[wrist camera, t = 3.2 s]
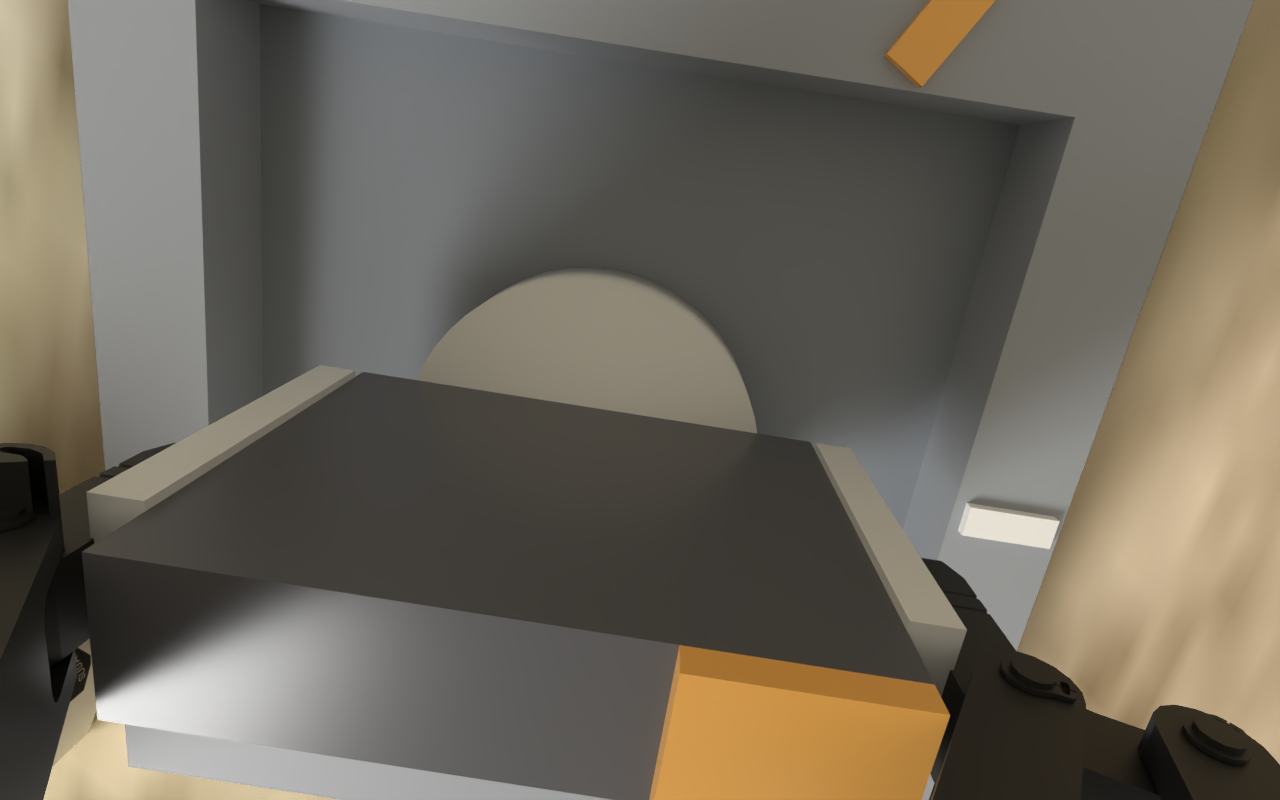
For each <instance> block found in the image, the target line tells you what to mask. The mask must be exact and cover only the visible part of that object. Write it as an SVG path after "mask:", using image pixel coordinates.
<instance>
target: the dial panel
mask: <svg viewBox="0 0 1280 800" xmlns="http://www.w3.org/2000/svg"><path fill="white" fill-rule="evenodd" d="M1253 2H1254V0H68V9H69V22H70V35H71V47H72V60H73V72H74V85H75V98H76V110H77V123H78V136H79V148H80V161H81V173H82V186H83V199H84V211H85V224H86V237H87V249H88V262H89V274H90V287H91V300H92V312H93V325H94V338H95V350H96V363H97V375H98V388H99V401H100V413H101V426H102V439H103V451H104V464H105V471H106V470H108V469H110V468H112V467H114V466H117V467H118V466H119V464H120V463H121V462H123V461H125V460H127V459H129V458H131V457H133V456H135V455H137V454H139V453H140V452H142V451H146V450H150V449H153V448H157V447H160V446H164V445H168V444H171V443H178V442H179V441H181V440H183V439H185V438H187V437H189V436H190V435H192V434H194V433H196V432H198V431H200V430H201V429H203V428H205V427H207V426H209V425H211V424H212V423H214V422H216V421H218V420H220V419H222V418H224V417H225V416H227V415H229V414H231V413H233V412H235V411H236V410H238V409H240V408H242V407H244V406H246V405H247V404H249V403H251V402H253V401H255V400H257V399H258V398H260V397H262V396H264V395H266V394H268V393H270V392H271V391H273V390H275V389H277V388H279V387H281V386H282V385H284V384H286V383H288V382H290V381H292V380H293V379H295V378H297V377H299V376H301V375H303V374H304V373H306V372H308V371H310V370H312V369H314V368H316V367H317V366H319V365H324V366H330V367H337V368H343V369H349V370H355V377H356V376H357V375H359V374H360V373H362V372H368V373H374V374H381V375H387V376H393V377H400V378H406V379H413V380H417V378H418V376H419V373H420V371H421V369H422V367H423V365H424V363H425V362H426V360H427V358H428V357H429V355H430V354H431V352H432V350H433V349H434V347H435V346H436V345H437V344H438V343H439V341H440V340H441V339H442V338H443V337H444V335H445V334H446V333H447V332H448V331H449V330H450V329H451V328H452V327H453V326H454V325H455V324H456V323H458V322H459V321H460V320H461V319H462V318H463V317H464V316H465V315H467V314H468V313H470V312H471V311H473V310H474V309H475V308H477V307H478V306H480V305H481V304H483V303H484V302H486V301H487V300H489V299H490V298H492V297H493V296H495V295H496V294H498V293H499V292H501V291H502V290H504V289H505V288H507V287H509V286H511V285H513V284H515V283H517V282H519V281H521V280H523V279H526V278H529V277H532V276H535V275H538V274H541V273H544V272H548V271H554V270H560V269H565V268H582V267H593V268H604V269H613V270H618V271H622V272H626V273H631V274H635V275H637V276H640V277H643V278H645V279H648V280H651V281H654V282H656V283H658V284H659V285H661V286H663V287H665V288H667V289H669V290H671V291H673V292H674V293H676V294H677V295H679V296H680V297H681V298H683V299H684V300H686V301H687V302H689V303H690V304H691V305H693V306H694V307H695V308H696V309H697V310H698V311H699V312H700V313H701V314H702V315H703V316H704V317H705V318H707V319H708V321H709V322H710V323H711V324H712V325H713V327H714V328H715V329H716V330H717V332H718V333H719V334H720V335H721V337H722V338H723V340H724V341H725V343H726V345H727V346H728V348H729V349H730V351H731V353H732V354H733V357H734V359H735V361H736V363H737V366H738V368H739V370H740V372H741V375H742V378H743V381H744V384H745V387H746V390H747V393H748V396H749V399H750V403H751V406H752V410H753V413H754V417H755V422H756V429H757V434H764V435H770V436H777V437H783V438H789V439H796V440H802V441H808V442H811V444H812V446H813V448H815V444H816V443H820V444H826V445H832V446H839V447H845V448H850V449H851V450H852V452H853V453H854V455H855V456H856V458H857V459H858V461H859V463H860V464H861V466H862V467H863V469H864V470H865V472H866V473H867V475H868V477H869V478H870V480H871V481H872V483H873V484H874V486H875V487H876V489H877V491H878V492H879V494H880V495H881V497H882V498H883V500H884V501H885V503H886V505H887V506H888V508H889V509H890V511H891V512H892V514H893V515H894V517H895V519H896V520H897V522H898V523H899V525H900V526H901V528H902V529H903V531H904V533H905V534H906V536H907V537H908V539H909V540H910V542H911V543H912V545H913V547H914V548H915V550H916V551H917V553H918V554H919V556H920V557H921V558H926V559H932V560H939V561H942V562H944V563H945V564H946V565H948V566H949V567H950V568H952V569H953V570H954V571H955V572H957V573H958V574H959V575H961V576H962V577H963V578H964V579H965V580H966V581H967V583H968V584H969V586H970V587H971V588H972V590H973V591H974V593H975V594H976V595H977V599H979V600H980V601H981V602H982V604H983V605H984V607H985V608H986V609H987V614H990V615H991V616H992V618H993V619H994V620H995V622H996V623H997V625H998V626H999V627H1000V629H1001V630H1002V632H1003V633H1004V634H1005V636H1006V637H1007V639H1008V640H1009V641H1010V643H1011V644H1012V646H1013V647H1014V648H1015V650H1016V651H1017V649H1018V647H1019V644H1020V641H1021V638H1022V636H1023V633H1024V630H1025V627H1026V625H1027V622H1028V619H1029V617H1030V614H1031V611H1032V608H1033V606H1034V603H1035V600H1036V597H1037V595H1038V592H1039V589H1040V586H1041V584H1042V581H1043V578H1044V575H1045V573H1046V570H1047V567H1048V564H1049V562H1050V559H1051V556H1052V553H1053V551H1054V548H1055V545H1056V542H1057V540H1058V537H1059V534H1060V531H1061V529H1062V526H1063V523H1064V520H1065V518H1066V515H1067V512H1068V509H1069V507H1070V504H1071V501H1072V498H1073V496H1074V493H1075V490H1076V488H1077V485H1078V482H1079V479H1080V477H1081V474H1082V471H1083V468H1084V466H1085V463H1086V460H1087V457H1088V455H1089V452H1090V449H1091V446H1092V444H1093V441H1094V438H1095V435H1096V433H1097V430H1098V427H1099V424H1100V422H1101V419H1102V416H1103V413H1104V411H1105V408H1106V405H1107V402H1108V400H1109V397H1110V394H1111V391H1112V389H1113V386H1114V383H1115V380H1116V378H1117V375H1118V372H1119V369H1120V367H1121V364H1122V361H1123V359H1124V356H1125V353H1126V350H1127V348H1128V345H1129V342H1130V339H1131V337H1132V334H1133V331H1134V328H1135V326H1136V323H1137V320H1138V317H1139V315H1140V312H1141V309H1142V306H1143V304H1144V301H1145V298H1146V295H1147V293H1148V290H1149V287H1150V284H1151V282H1152V279H1153V276H1154V273H1155V271H1156V268H1157V265H1158V262H1159V260H1160V257H1161V254H1162V251H1163V249H1164V246H1165V243H1166V240H1167V238H1168V235H1169V232H1170V230H1171V227H1172V224H1173V221H1174V219H1175V216H1176V213H1177V210H1178V208H1179V205H1180V202H1181V199H1182V197H1183V194H1184V191H1185V188H1186V186H1187V183H1188V180H1189V177H1190V175H1191V172H1192V169H1193V166H1194V164H1195V161H1196V158H1197V155H1198V153H1199V150H1200V147H1201V144H1202V142H1203V139H1204V136H1205V133H1206V131H1207V128H1208V125H1209V122H1210V120H1211V117H1212V114H1213V112H1214V109H1215V106H1216V103H1217V101H1218V98H1219V95H1220V92H1221V90H1222V87H1223V84H1224V81H1225V79H1226V76H1227V73H1228V70H1229V68H1230V65H1231V62H1232V59H1233V57H1234V54H1235V51H1236V48H1237V46H1238V43H1239V40H1240V37H1241V35H1242V32H1243V29H1244V26H1245V24H1246V21H1247V18H1248V15H1249V13H1250V10H1251V7H1252V4H1253ZM125 729H126V742H127V754H128V767H134V768H140V769H147V770H153V771H160V772H166V773H173V774H179V775H185V776H192V777H198V778H205V779H211V780H218V781H224V782H231V783H237V784H244V785H250V786H256V787H263V788H269V789H276V790H282V791H289V792H295V793H302V794H308V795H314V796H321V797H327V798H334V799H340V800H611V799H605V798H598V797H592V796H585V795H579V794H573V793H566V792H560V791H553V790H547V789H540V788H534V787H527V786H521V785H514V784H508V783H501V782H495V781H489V780H482V779H476V778H469V777H463V776H456V775H450V774H443V773H437V772H430V771H424V770H417V769H411V768H405V767H398V766H392V765H385V764H379V763H372V762H366V761H359V760H353V759H346V758H340V757H333V756H327V755H321V754H314V753H308V752H301V751H295V750H288V749H282V748H275V747H269V746H262V745H256V744H249V743H243V742H237V741H230V740H224V739H217V738H211V737H204V736H198V735H191V734H185V733H178V732H172V731H165V730H159V729H153V728H146V727H140V726H133V725H127V724H125ZM933 786H934V781H933V779H932V777H931V774H930V776H929V779H928V782H927V785H926V788H925V791H924V794H923V797H922V800H929V798H930V795H931V792H932V789H933Z"/></svg>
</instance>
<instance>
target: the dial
mask: <svg viewBox="0 0 1280 800" xmlns="http://www.w3.org/2000/svg"><path fill="white" fill-rule="evenodd" d="M82 561H83V572H84V582H85V593H86V604H87V614H88V625H89V636H90V646H91V657H92V667H93V678H94V689H95V699H96V710H97V720H101V721H107V722H114V723H120V724H127V725H133V726H140V727H146V728H153V729H159V730H165V731H172V732H178V733H185V734H191V735H198V736H204V737H211V738H217V739H224V740H230V741H237V742H243V743H249V744H256V745H262V746H269V747H275V748H282V749H288V750H295V751H301V752H308V753H314V754H321V755H327V756H333V757H340V758H346V759H353V760H359V761H366V762H372V763H379V764H385V765H392V766H398V767H405V768H411V769H417V770H424V771H430V772H437V773H443V774H450V775H456V776H463V777H469V778H476V779H482V780H489V781H495V782H501V783H508V784H514V785H521V786H527V787H534V788H540V789H547V790H553V791H560V792H566V793H573V794H579V795H585V796H592V797H598V798H605V799H611V800H922V797H923V794H924V791H925V788H926V785H927V782H928V779H929V776H930V773H931V771H932V768H933V765H934V762H935V759H936V756H937V753H938V750H939V747H940V744H941V741H942V738H943V735H944V732H945V730H946V727H947V724H948V721H949V718H950V714H949V712H948V710H947V708H946V706H945V704H944V702H943V700H942V698H941V696H940V694H939V692H938V690H937V688H936V686H935V684H934V682H933V680H932V678H931V677H930V675H929V673H928V671H927V669H926V667H925V665H924V663H923V661H922V659H921V657H920V655H919V653H918V651H917V649H916V647H915V645H914V643H913V641H912V639H911V637H910V635H909V634H908V632H907V630H906V628H905V626H904V624H903V622H902V620H901V618H900V616H899V615H898V613H897V611H896V609H895V607H894V605H893V603H892V601H891V599H890V597H889V595H888V593H887V591H886V589H885V587H884V585H883V583H882V581H881V579H880V577H879V575H878V573H877V571H876V569H875V567H874V565H873V564H872V562H871V560H870V558H869V556H868V554H867V552H866V550H865V548H864V546H863V544H862V542H861V540H860V538H859V536H858V534H857V532H856V530H855V528H854V526H853V524H852V522H851V520H850V518H849V516H848V515H847V513H846V511H845V509H844V507H843V505H842V503H841V501H840V499H839V497H838V495H837V493H836V491H835V489H834V487H833V485H832V483H831V481H830V479H829V477H828V475H827V473H826V471H825V469H824V467H823V465H822V464H821V462H820V460H819V458H818V456H817V454H816V452H815V450H814V448H813V446H812V444H811V442H808V441H802V440H796V439H789V438H783V437H777V436H770V435H764V434H757V429H756V422H755V417H754V413H753V410H752V406H751V403H750V399H749V396H748V393H747V390H746V387H745V384H744V381H743V378H742V375H741V372H740V370H739V368H738V366H737V363H736V361H735V359H734V357H733V354H732V353H731V351H730V349H729V348H728V346H727V345H726V343H725V341H724V340H723V338H722V337H721V335H720V334H719V333H718V332H717V330H716V329H715V328H714V327H713V325H712V324H711V323H710V322H709V321H708V319H707V318H705V317H704V316H703V315H702V314H701V313H700V312H699V311H698V310H697V309H696V308H695V307H694V306H693V305H691V304H690V303H689V302H687V301H686V300H684V299H683V298H681V297H680V296H679V295H677V294H676V293H674V292H673V291H671V290H669V289H667V288H665V287H663V286H661V285H659V284H658V283H656V282H654V281H651V280H648V279H645V278H643V277H640V276H637V275H635V274H631V273H626V272H622V271H618V270H613V269H604V268H593V267H582V268H565V269H560V270H554V271H548V272H544V273H541V274H538V275H535V276H532V277H529V278H526V279H523V280H521V281H519V282H517V283H515V284H513V285H511V286H509V287H507V288H505V289H504V290H502V291H501V292H499V293H498V294H496V295H495V296H493V297H492V298H490V299H489V300H487V301H486V302H484V303H483V304H481V305H480V306H478V307H477V308H475V309H474V310H473V311H471V312H470V313H468V314H467V315H465V316H464V317H463V318H462V319H461V320H460V321H459V322H458V323H456V324H455V325H454V326H453V327H452V328H451V329H450V330H449V331H448V332H447V333H446V334H445V335H444V337H443V338H442V339H441V340H440V341H439V343H438V344H437V345H436V346H435V347H434V349H433V350H432V352H431V354H430V355H429V357H428V358H427V360H426V362H425V363H424V365H423V367H422V369H421V371H420V373H419V376H418V378H417V380H413V379H406V378H400V377H393V376H387V375H381V374H374V373H368V372H362V373H360V374H359V375H357V376H356V377H354V378H353V379H351V380H350V381H348V382H347V383H345V384H343V385H342V386H340V387H339V388H337V389H336V390H334V391H333V392H331V393H329V394H328V395H326V396H325V397H323V398H322V399H320V400H319V401H317V402H315V403H314V404H312V405H311V406H309V407H308V408H306V409H304V410H303V411H301V412H300V413H298V414H297V415H295V416H294V417H292V418H290V419H289V420H287V421H286V422H284V423H283V424H281V425H280V426H278V427H276V428H275V429H273V430H272V431H270V432H269V433H267V434H265V435H264V436H262V437H261V438H259V439H258V440H256V441H255V442H253V443H251V444H250V445H248V446H247V447H245V448H244V449H242V450H241V451H239V452H237V453H236V454H234V455H233V456H231V457H230V458H228V459H227V460H225V461H223V462H222V463H220V464H219V465H217V466H216V467H214V468H212V469H211V470H209V471H208V472H206V473H205V474H203V475H202V476H200V477H198V478H197V479H195V480H194V481H192V482H191V483H189V484H188V485H186V486H184V487H183V488H181V489H180V490H178V491H177V492H175V493H173V494H172V495H170V496H169V497H167V498H166V499H164V500H163V501H161V502H159V503H158V504H156V505H155V506H153V507H152V508H150V509H149V510H147V511H145V512H143V513H142V514H140V515H139V516H137V517H136V518H134V519H132V520H131V521H129V522H128V523H126V524H125V525H123V526H121V527H120V528H118V529H117V530H115V531H114V532H112V533H111V534H109V535H107V536H106V537H104V538H103V539H101V540H100V541H98V542H96V543H95V544H93V545H92V546H90V547H89V548H87V549H86V550H84V551H82Z"/></svg>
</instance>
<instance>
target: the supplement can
mask: <svg viewBox="0 0 1280 800" xmlns="http://www.w3.org/2000/svg"><path fill="white" fill-rule="evenodd" d="M75 656H76V666H77V678H76V682H75V686H74V689H73V693H72V696H71V700H70V704H69V707H68V711H67V715H66V718H65V722H64V726H63V729H62V733H61V736H60V740H59V744H58V747H57V751H56V755H55V758H54V762H53V765H54V764H56V763H57V762H58V761H59V760H60V759H61V758H62V757H63V756H64V755H65V754H66V753H67V752H68V751H69V750H70V749H71V748H72V747H73V746H74V745H75V744H76V743H77V742H79V741H80V740H81V739H82V738H83V737H84V736H85V735H86V734H87V733H88V732H89V731H90V728H91V725H92V722H93V719H94V716H95V713H96V699H95V689H94V678H93V667H92V657H91V646H90V638H89V639H88V640H87V641H86V642H84V643H83V644H82V645H81V646H79V647H78V648H77V649H76V650H75Z"/></svg>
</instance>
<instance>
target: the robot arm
mask: <svg viewBox="0 0 1280 800" xmlns="http://www.w3.org/2000/svg"><path fill="white" fill-rule="evenodd" d="M354 377H355V370H349V369H343V368H337V367H330V366H324V365H319V366H317V367H316V368H314V369H312V370H310V371H308V372H306V373H304V374H303V375H301V376H299V377H297V378H295V379H293V380H292V381H290V382H288V383H286V384H284V385H282V386H281V387H279V388H277V389H275V390H273V391H271V392H270V393H268V394H266V395H264V396H262V397H260V398H258V399H257V400H255V401H253V402H251V403H249V404H247V405H246V406H244V407H242V408H240V409H238V410H236V411H235V412H233V413H231V414H229V415H227V416H225V417H224V418H222V419H220V420H218V421H216V422H214V423H212V424H211V425H209V426H207V427H205V428H203V429H201V430H200V431H198V432H196V433H194V434H192V435H190V436H189V437H187V438H185V439H183V440H181V441H179V442H178V443H171V444H168V445H164V446H160V447H157V448H153V449H150V450H146V451H142V452H140V453H139V454H137V455H135V456H133V457H131V458H129V459H127V460H125V461H123V462H121V463H120V464H119V466H118V467H117V466H114V467H112V468H110V469H108V470H106V471H104V472H102V473H100V476H99V477H96V476H95V477H93V478H91V479H89V480H87V481H85V482H83V483H81V484H79V485H78V486H76V487H74V488H72V489H70V490H68V491H66V492H64V493H62V494H60V495H59V488H58V479H57V469H56V459H55V453H54V452H52V451H51V450H49V449H47V448H45V447H41V446H36V445H31V444H13V443H2V444H0V800H43V798H44V795H45V791H46V787H47V784H48V780H49V776H50V773H51V769H52V766H53V762H54V758H55V755H56V751H57V747H58V744H59V740H60V736H61V733H62V729H63V726H64V722H65V718H66V715H67V711H68V707H69V704H70V700H71V696H72V693H73V689H74V686H75V682H76V678H77V666H76V656H75V650H76V649H77V648H78V647H79V646H81V645H82V644H83V643H84V642H86V641H87V640H88V639H89V638H90V636H89V625H88V614H87V604H86V593H85V582H84V572H83V561H82V551H84V550H86V549H87V548H89V547H90V546H92V545H93V544H95V543H96V542H98V541H100V540H101V539H103V538H104V537H106V536H107V535H109V534H111V533H112V532H114V531H115V530H117V529H118V528H120V527H121V526H123V525H125V524H126V523H128V522H129V521H131V520H132V519H134V518H136V517H137V516H139V515H140V514H142V513H143V512H145V511H147V510H149V509H150V508H152V507H153V506H155V505H156V504H158V503H159V502H161V501H163V500H164V499H166V498H167V497H169V496H170V495H172V494H173V493H175V492H177V491H178V490H180V489H181V488H183V487H184V486H186V485H188V484H189V483H191V482H192V481H194V480H195V479H197V478H198V477H200V476H202V475H203V474H205V473H206V472H208V471H209V470H211V469H212V468H214V467H216V466H217V465H219V464H220V463H222V462H223V461H225V460H227V459H228V458H230V457H231V456H233V455H234V454H236V453H237V452H239V451H241V450H242V449H244V448H245V447H247V446H248V445H250V444H251V443H253V442H255V441H256V440H258V439H259V438H261V437H262V436H264V435H265V434H267V433H269V432H270V431H272V430H273V429H275V428H276V427H278V426H280V425H281V424H283V423H284V422H286V421H287V420H289V419H290V418H292V417H294V416H295V415H297V414H298V413H300V412H301V411H303V410H304V409H306V408H308V407H309V406H311V405H312V404H314V403H315V402H317V401H319V400H320V399H322V398H323V397H325V396H326V395H328V394H329V393H331V392H333V391H334V390H336V389H337V388H339V387H340V386H342V385H343V384H345V383H347V382H348V381H350V380H351V379H353V378H354ZM814 450H815V452H816V454H817V456H818V458H819V460H820V462H821V464H822V465H823V467H824V469H825V471H826V473H827V475H828V477H829V479H830V481H831V483H832V485H833V487H834V489H835V491H836V493H837V495H838V497H839V499H840V501H841V503H842V505H843V507H844V509H845V511H846V513H847V515H848V516H849V518H850V520H851V522H852V524H853V526H854V528H855V530H856V532H857V534H858V536H859V538H860V540H861V542H862V544H863V546H864V548H865V550H866V552H867V554H868V556H869V558H870V560H871V562H872V564H873V565H874V567H875V569H876V571H877V573H878V575H879V577H880V579H881V581H882V583H883V585H884V587H885V589H886V591H887V593H888V595H889V597H890V599H891V601H892V603H893V605H894V607H895V609H896V611H897V613H898V615H899V616H900V618H901V620H902V622H903V624H904V626H905V628H906V630H907V632H908V634H909V635H910V637H911V639H912V641H913V643H914V645H915V647H916V649H917V651H918V653H919V655H920V657H921V659H922V661H923V663H924V665H925V667H926V669H927V671H928V673H929V675H930V677H931V678H932V680H933V682H934V684H935V686H936V688H937V690H938V692H939V694H940V696H941V698H942V700H943V702H944V704H945V706H946V708H947V710H948V712H949V714H950V718H949V721H948V724H947V727H946V730H945V732H944V735H943V738H942V741H941V744H940V747H939V750H938V753H937V756H936V759H935V762H934V765H933V768H932V771H931V773H930V774H931V777H932V779H933V781H934V786H933V789H932V792H931V795H930V798H929V800H1280V765H1279V763H1278V762H1277V761H1276V760H1275V759H1274V758H1273V757H1272V756H1271V755H1270V753H1269V752H1268V751H1267V750H1266V749H1265V748H1264V747H1263V746H1262V745H1260V744H1259V743H1258V742H1256V741H1255V740H1254V739H1252V738H1251V737H1249V736H1248V735H1247V734H1245V732H1244V731H1243V730H1242V729H1240V728H1238V727H1237V726H1235V725H1233V724H1232V723H1230V724H1228V723H1226V722H1227V721H1226V720H1224V719H1222V718H1220V717H1218V716H1215V715H1211V714H1210V715H1209V714H1207V713H1204V712H1201V711H1199V710H1196V709H1192V708H1188V707H1183V706H1178V705H1167V706H1160V707H1159V708H1158V709H1156V710H1155V711H1154V712H1153V714H1152V716H1151V719H1150V721H1149V723H1148V725H1147V728H1146V730H1143V729H1140V728H1137V727H1134V726H1131V725H1128V724H1125V723H1122V722H1120V721H1117V720H1114V719H1111V718H1108V717H1105V716H1102V715H1099V714H1097V713H1094V712H1092V711H1089V710H1087V709H1086V703H1085V700H1084V697H1083V694H1082V692H1081V691H1080V689H1079V688H1078V687H1077V686H1076V685H1075V684H1074V683H1073V681H1072V680H1071V679H1070V678H1068V677H1067V676H1065V675H1064V674H1063V673H1061V672H1060V671H1059V670H1057V669H1056V668H1055V667H1053V666H1051V665H1049V664H1047V663H1045V662H1043V661H1041V660H1039V659H1037V658H1035V657H1033V656H1029V655H1026V654H1023V653H1020V652H1017V651H1016V650H1015V648H1014V647H1013V646H1012V644H1011V643H1010V641H1009V640H1008V639H1007V637H1006V636H1005V634H1004V633H1003V632H1002V630H1001V629H1000V627H999V626H998V625H997V623H996V622H995V620H994V619H993V618H992V616H991V615H990V614H987V609H986V608H985V607H984V605H983V604H982V602H981V601H980V600H979V599H977V595H976V594H975V593H974V591H973V590H972V588H971V587H970V586H969V584H968V583H967V581H966V580H965V579H964V578H963V577H962V576H961V575H959V574H958V573H957V572H955V571H954V570H953V569H952V568H950V567H949V566H948V565H946V564H945V563H944V562H942V561H939V560H932V559H926V558H921V557H920V556H919V554H918V553H917V551H916V550H915V548H914V547H913V545H912V543H911V542H910V540H909V539H908V537H907V536H906V534H905V533H904V531H903V529H902V528H901V526H900V525H899V523H898V522H897V520H896V519H895V517H894V515H893V514H892V512H891V511H890V509H889V508H888V506H887V505H886V503H885V501H884V500H883V498H882V497H881V495H880V494H879V492H878V491H877V489H876V487H875V486H874V484H873V483H872V481H871V480H870V478H869V477H868V475H867V473H866V472H865V470H864V469H863V467H862V466H861V464H860V463H859V461H858V459H857V458H856V456H855V455H854V453H853V452H852V450H851V449H850V448H845V447H839V446H832V445H826V444H820V443H816V444H815V448H814Z"/></svg>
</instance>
